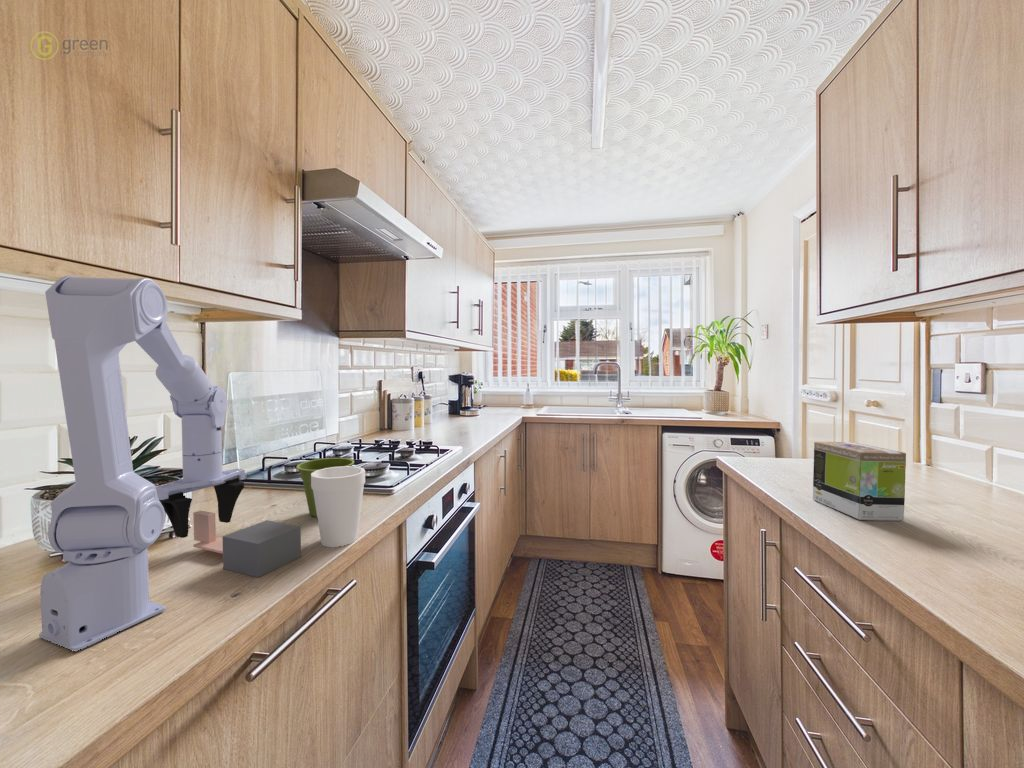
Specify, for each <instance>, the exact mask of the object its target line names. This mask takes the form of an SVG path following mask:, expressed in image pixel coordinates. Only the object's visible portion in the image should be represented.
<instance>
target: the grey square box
mask: <svg viewBox="0 0 1024 768" xmlns="http://www.w3.org/2000/svg"><path fill="white" fill-rule="evenodd" d="M301 529H302V528H301V525H297V524H291V523H285V522H280V521H279V522H278V521H274V520H268V519H267V520H264V521H260V522H259V523H255V524H254V525H250V526H247V527H245V528H242V529H239V530H236V531H234V532H231V533H228V534H225V535H223V536H222V537H221V538H223V554H222V568H223V570H227V571H231V572H236V573H240V574H243V575H248V576H251V577H254V578H255V577H256V578H260V577H263V576H264V575H266V574H269V573H271V572H273V571H275V570H277V569H278V568H281V567H283V566H285V565H288V564H290V563H291V562H293V561H296V560H297V559H299V558H301V557H302V544H301V543H302V538H301V537H302V534H301V532H302V531H301Z"/></svg>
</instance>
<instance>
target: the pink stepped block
mask: <svg viewBox="0 0 1024 768" xmlns="http://www.w3.org/2000/svg"><path fill="white" fill-rule="evenodd" d="M192 514H193V515H192V517H193V539H194V541H196V542H197V541H198V542H197V543H194V544H193V545H192V547H193V548H197V549H200V550H205V551H210V552H214V553H217V554H222V555H223V538H222V537H220V536H217V527H216V513H215V512H210V511H206V510H205V511H204V510H197V511H194V512H192Z"/></svg>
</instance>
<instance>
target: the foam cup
mask: <svg viewBox="0 0 1024 768" xmlns="http://www.w3.org/2000/svg"><path fill="white" fill-rule="evenodd" d="M365 483H366V470H365V468H364V467H360V466H355V465H354V466H353V465H352V466H340V467H330V468H324V469H320V470H317V471H314V472H313V473H311V488H312V489H313V493H314V500H315V506H316V512H317V517H316V519H317V523H318V530H319V536H320V542H321V545H322V546H323V547H326V548H327V547H328V548H340V547H339V546H341V547H344V545H345V546H348V545H347V544H349V545H351V544H353V543H354V542H356V541H357V540H358V535H359V527H360V519H361V514H362V513H361V510H362V505H363V504H362V503H363V495H364V486H365ZM356 539H357V540H356Z"/></svg>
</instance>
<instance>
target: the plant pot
mask: <svg viewBox="0 0 1024 768" xmlns="http://www.w3.org/2000/svg"><path fill="white" fill-rule="evenodd" d="M354 464H355V460H354V459H351V458H347V457H325V458H317V459H312V460H311V459H310V460H307V461H304V462H301V463H298V464H297V465H296V469H297V470H298V471H299V474H300V478H301V480H302V484H303V488H304V492H305V493H304V494H305V497H306V503H307V508H308V512H309V515H310V516H311V517H312V516H313V517H314V518H317V512H316V506H315V500H314V493H313V489H312V488H311V473H313V472H314V471H317V470H320V469H324V468H330V467H340V466H353V465H354Z"/></svg>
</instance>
